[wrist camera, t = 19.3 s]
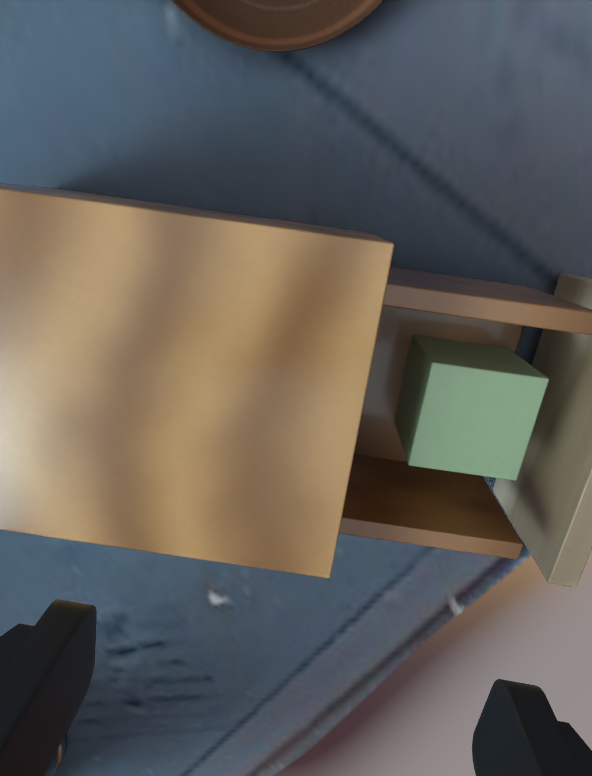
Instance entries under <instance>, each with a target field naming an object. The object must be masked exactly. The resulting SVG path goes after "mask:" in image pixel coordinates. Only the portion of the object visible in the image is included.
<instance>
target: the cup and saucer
mask: <svg viewBox="0 0 592 776" xmlns="http://www.w3.org/2000/svg"><path fill="white" fill-rule="evenodd" d="M172 1H173V2H174V3H175V4H176V5H177V6H178V7H179V8H180V9H181V10H182V11H183V12H184V13H185V14H186V15H187V16H188V17H189V18H191V19H192V20H193V21H194V22H196V23H197V24H198V25H200V26H201V27H202V28H204V29H205V30H207V31H209V32H210V33H212V34H214V35H215V36H217V37H219V38H222V39H224V40H226V41H228V42H230V43H233V44H236V45H239V46H242V47H245V48H249V49H254V50H258V51H267V52H289V51H297V50H303V49H307V48H311V47H315V46H317V45H320V44H323V43H326V42H328V41H330V40H332V39H334V38H336V37H338V36H340V35H342V34H344V33H345V32H347V31H348V30H350V29H352V28H353V27H355V26H356V25H357V24H359V23H360V22H361V21H362V20H364V19H365V18H366V17H367V16H369V15H370V14H371V13H372V12H373V11H374V10H375V9H376V8H377V7H378V6H379V5H380V4H381V3H382V2H383V1H384V0H172Z"/></svg>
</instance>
